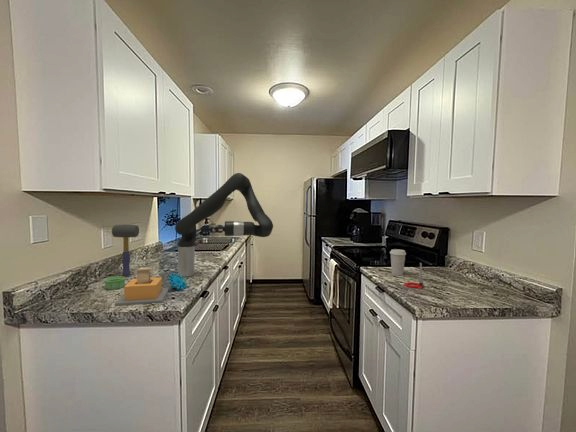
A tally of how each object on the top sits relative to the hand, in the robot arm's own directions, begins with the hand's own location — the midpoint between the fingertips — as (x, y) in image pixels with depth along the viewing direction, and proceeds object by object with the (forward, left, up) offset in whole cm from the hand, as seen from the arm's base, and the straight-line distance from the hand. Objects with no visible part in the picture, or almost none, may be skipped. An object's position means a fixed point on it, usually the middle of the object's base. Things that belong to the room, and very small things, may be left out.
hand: (201, 228), depth 138 cm
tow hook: (+19, +110, -30) cm, 115 cm away
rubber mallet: (-31, -43, -30) cm, 61 cm away
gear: (-1, -11, -30) cm, 32 cm away
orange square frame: (+9, -24, -30) cm, 39 cm away
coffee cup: (-5, +117, -30) cm, 121 cm away
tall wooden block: (+9, -24, -29) cm, 39 cm away
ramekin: (-10, -42, -30) cm, 53 cm away
